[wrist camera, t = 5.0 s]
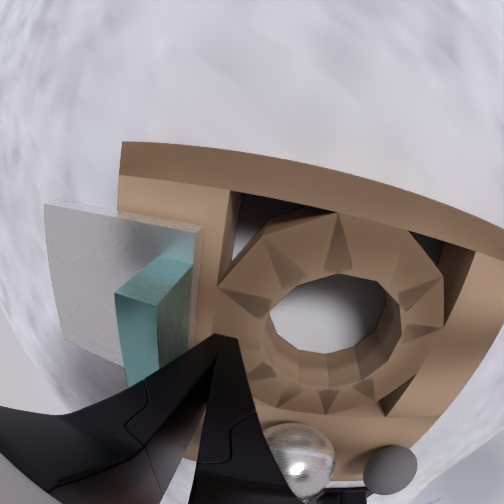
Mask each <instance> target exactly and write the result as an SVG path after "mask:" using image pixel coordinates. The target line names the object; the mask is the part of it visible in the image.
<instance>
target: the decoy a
mask: <svg viewBox="0 0 504 504" xmlns="http://www.w3.org/2000/svg"><path fill="white" fill-rule="evenodd" d="M416 471H417V460H416V457H415V455H414V454H413V452H412V451H411V450H409V449H407V448H405V447H402V446H390V447H386V448H383V449H381V450H379V451H378V452H376V453H375V454H374V455H373V456H372V457H371V458H370V459H369V460H368V461H367V463H366V465H365V467H364V470H363V481H364V484H365V486H366V487H367V488H368V489H369V490H370V491H371V492H373V493H376V494H379V495H389V494H394V493H396V492H398V491H400V490H402V489H404V488H405V487H406V486H407V485H408V484H409V483H410V482H411V481H412V479H413V478H414V476H415V474H416Z"/></svg>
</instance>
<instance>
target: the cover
mask: <svg viewBox="0 0 504 504" xmlns="http://www.w3.org/2000/svg"><path fill="white" fill-rule="evenodd" d="M44 218H45V233H46V244H47V253H48V261H49V268H50V275H51V281H52V287H53V292H54V297H55V302H56V306H57V311H58V315H59V319H60V323H61V327H62V331H63V335H64V338H65V340H67V341H69V342H71V343H73V344H75V345H77V346H79V347H81V348H83V349H85V350H87V351H89V352H91V353H93V354H95V355H97V356H99V357H102V358H104V359H106V360H108V361H111V362H113V363H115V364H118V365H120V366H122V367H124V369H125V374H126V378H127V383H128V388H129V387H131V386H132V385H134V384H136V383H137V382H139V381H141V380H144V378H146V377H147V376H149V375H151V374H152V373H154V372H155V371H157V370H158V369H160V368H162V367H163V366H165V365H166V364H168V363H169V362H171V361H173V360H174V359H176V358H177V357H179V356H180V355H182V354H183V353H185V352H186V351H188V350H189V349H191V348H192V347H194V340H195V324H196V310H197V297H198V285H199V274H200V263H201V253H202V244H203V234H204V226H199V225H194V224H189V223H183V222H178V221H173V220H167V219H162V218H157V217H151V216H146V215H141V214H135V213H130V212H124V211H119V210H113V209H107V208H102V207H96V206H90V205H85V204H79V203H73V202H67V201H61V200H54V201H51V202H48V203H44Z"/></svg>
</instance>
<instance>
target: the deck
mask: <svg viewBox="0 0 504 504" xmlns="http://www.w3.org/2000/svg"><path fill="white" fill-rule="evenodd" d="M242 192H243V193H248V194H254V195H259V196H264V197H269V198H275V199H280V200H285V201H289V202H294V203H299V204H304V205H308V206H309V207H305V208H302V209H299V210H296V211H293V212H290V213H287V214H283V215H280V216H277V217H274V218H271V219H269V220H268V221H267V222H266V223H265V224H264V226H263V227H262V228H261V229H260V230H259V231H258V232H257V233H256V235H255V236H254V237H253V238H252V239H251V240H250V241H249V242H248V244H247V245H246V246H245V247H244V248H243V249H242V250H241V252H240V253H239V254H238V255H237V256H236V257H235V258H234V260H233V261H232V255H233V248H234V242H235V235H236V228H237V222H238V216H239V209H240V203H241V197H242ZM117 210H119V211H124V212H130V213H135V214H141V215H146V216H151V217H157V218H162V219H167V220H173V221H178V222H183V223H189V224H194V225H199V226H204V234H203V244H202V253H201V263H200V274H199V285H198V297H197V310H196V324H195V340H194V346H195V345H197V344H199V343H200V342H202V341H203V340H204V339H206V338H207V337H209V336H210V335H212V334H213V333H218V334H222V335H225V336H230V337H234V338H237V339H238V341H239V345H240V349H241V353H242V357H243V361H244V365H245V369H246V373H247V377H248V380H249V384H250V388H251V392H252V396H253V399H254V403H255V407H256V410H257V411H256V412H257V414H258V417H259V421H260V424H261V427H262V430H263V431H264V430H265V429H267V428H269V427H272V426H275V425H278V424H283V423H301V424H305V425H309V426H311V427H314V428H316V429H317V430H319V431H320V432H322V433H323V434H324V435H325V436H326V437H327V438H328V439H329V441H330V442H331V444H332V446H333V448H334V451H335V455H336V466H335V471H334V474H333V476H332V478H331V480H330V481H359V480H363V470H364V467H365V465H366V463H367V461H368V460H369V459H370V458H371V457H372V456H373V455H374V454H375V453H376V452H378V451H379V450H381V449H383V448H386V447H390V446H402V447H405V448H407V449H410V448H411V447H412V446H413V445H414V444H415V443H416V442H417V441H418V440H419V439H420V438H421V437H422V436H423V435H424V434H425V433H426V432H427V431H428V430H429V429H430V427H431V426H432V425H433V424H434V423H435V422H436V421H437V420H438V419H439V417H440V416H441V415H442V414H443V413H444V412H445V410H446V409H447V408H448V407H449V406H450V404H451V403H452V402H453V401H454V399H455V398H456V397H457V396H458V394H459V393H460V392H461V390H462V389H463V388H464V386H465V385H466V384H467V382H468V381H469V379H470V378H471V377H472V375H473V374H474V372H475V371H476V369H477V368H478V366H479V365H480V363H481V362H482V360H483V359H484V357H485V355H486V354H487V352H488V350H489V349H490V347H491V345H492V344H493V342H494V340H495V338H496V337H497V335H498V333H499V331H500V329H501V327H502V325H503V323H504V229H503V228H501V227H499V226H496V225H494V224H492V223H490V222H488V221H485V220H483V219H481V218H478V217H476V216H474V215H471V214H469V213H467V212H464V211H462V210H459V209H457V208H454V207H452V206H449V205H446V204H444V203H441V202H438V201H436V200H433V199H430V198H427V197H424V196H421V195H418V194H416V193H413V192H410V191H406V190H403V189H400V188H397V187H394V186H391V185H387V184H384V183H381V182H377V181H374V180H370V179H367V178H363V177H359V176H356V175H352V174H348V173H344V172H340V171H336V170H332V169H328V168H323V167H319V166H315V165H310V164H305V163H301V162H296V161H291V160H286V159H280V158H275V157H270V156H264V155H258V154H252V153H245V152H239V151H232V150H225V149H217V148H209V147H200V146H190V145H180V144H168V143H153V142H124V141H122V149H121V159H120V170H119V184H118V203H117ZM408 230H409V231H412V232H416V233H419V234H422V235H426V236H429V237H432V238H436V239H439V240H442V241H445V243H444V246H443V249H442V252H441V255H440V258H439V261H438V264H437V267H436V266H435V264H434V263H433V262H432V260H431V259H430V258H429V256H428V255H427V254H426V252H425V251H424V250H423V249H422V247H421V246H420V245H419V244H418V242H417V241H416V240H415V239H414V237H413V236H412V235H411V234H410V233H409V231H408ZM337 273H340V274H345V275H349V276H354V277H359V278H364V279H369V280H374V281H377V282H378V283H379V284H380V285H381V286H382V287H383V288H384V292H385V299H386V306H385V308H384V310H383V313H382V315H381V317H380V320H379V322H378V324H377V326H376V329H375V330H374V331H372V332H371V333H370V334H369V335H368V336H366V337H365V338H364V339H363V340H361V341H360V342H359V343H358V344H356V345H355V346H354V347H351V348H348V349H344V350H340V351H337V352H333V353H329V354H321V353H315V352H309V351H303V350H298V349H297V348H295V347H294V346H293V345H291V344H290V343H289V342H287V341H286V340H285V339H283V338H282V337H281V336H279V335H278V334H277V332H276V330H275V327H274V325H273V322H272V320H271V317H270V315H269V311H270V310H271V309H272V308H273V307H274V306H275V305H276V304H278V303H279V302H280V301H281V300H282V299H283V298H284V297H285V296H286V295H287V294H288V293H289V292H290V291H291V290H292V289H293V288H294V287H295V286H296V285H299V284H303V283H306V282H310V281H313V280H317V279H320V278H324V277H327V276H330V275H334V274H337ZM205 411H206V409H205ZM204 417H205V412H204V414H203V416H202V418H201V420H200V422H199V424H198V426H197V428H196V431H195V433H194V435H193V437H192V439H191V441H190V443H189V445H188V447H187V449H186V452H185V454H184V455H183V458H186V459H190V460H193V461H196V462H197V457H198V451H199V445H200V440H201V434H202V428H203V422H204Z"/></svg>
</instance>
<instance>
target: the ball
mask: <svg viewBox="0 0 504 504" xmlns="http://www.w3.org/2000/svg"><path fill="white" fill-rule="evenodd" d="M263 433H264V436H265V438H266V441H267V443H268V445H269V448H270V450H271V452H272V454H273V456H274V458H275V460H276V462H277V464H278V466H279V468H280V470H281V472H282V474H283V476H284V478H285V480H286V482H287V483H288V485H289V487H290V488H291V490H292V491H293V493H294V494H295V495H296V496H297V497H298V498H299V499H300V500H301V501H303V500H306V499H309V498H311V497H313V496H314V495H316V494H317V493H319V492H320V491H321V490H322V489H324V488H325V486H326V485H327V484H328V483H329V481H330V480H331V478H332V476H333V474H334V471H335V466H336V455H335V451H334V448H333V446H332V444H331V442H330V441H329V439H328V438H327V437H326V436H325V435H324V434H323V433H322V432H320V431H319V430H317V429H316V428H314V427H311V426H309V425H305V424H301V423H283V424H278V425H275V426H272V427H269V428H267V429H265V430H264V431H263Z"/></svg>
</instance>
